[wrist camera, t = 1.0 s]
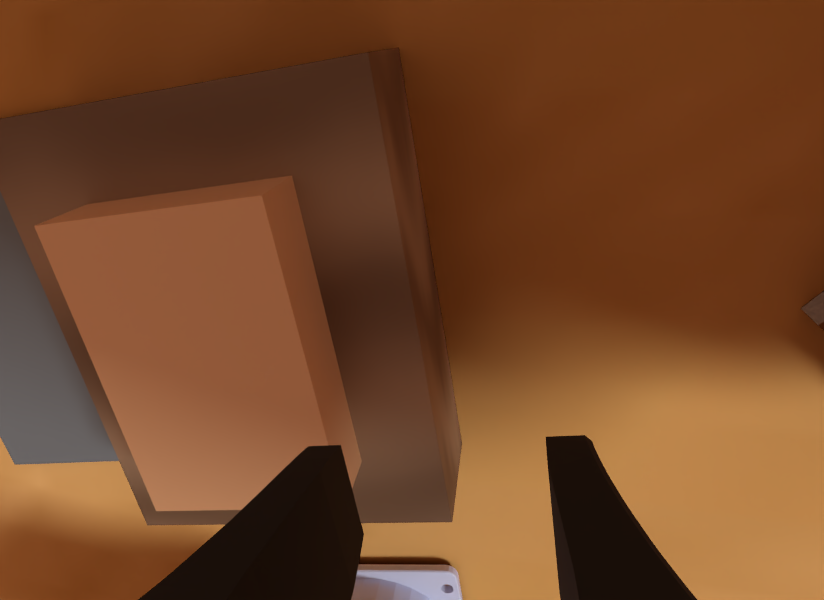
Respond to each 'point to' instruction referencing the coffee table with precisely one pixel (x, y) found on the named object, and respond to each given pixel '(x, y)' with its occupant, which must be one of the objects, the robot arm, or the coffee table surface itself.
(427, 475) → the brown flat block
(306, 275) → the tan rectangular brick
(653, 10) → the coffee table surface
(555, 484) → the robot arm
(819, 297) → the tall white column
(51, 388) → the mat
